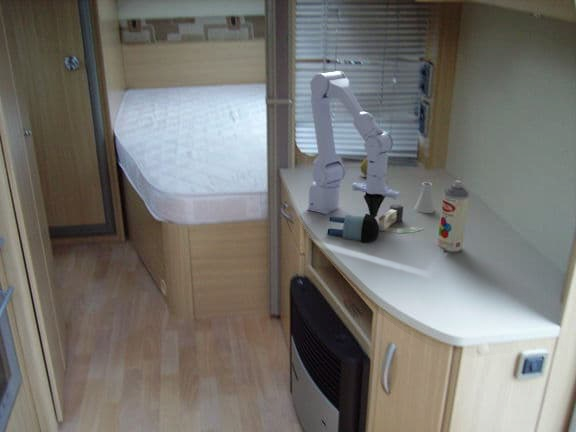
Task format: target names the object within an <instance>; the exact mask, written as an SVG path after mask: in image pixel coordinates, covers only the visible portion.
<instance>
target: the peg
mask: <svg viewBox="0 0 576 432" xmlns="http://www.w3.org/2000/svg"><path fill="white" fill-rule="evenodd" d="M403 215H404V206H403V205H402V204H391V205H390V206H389V210H388V211H386V212H385V213H384V214H382V215H381V216H379V217H378V220H377V222H378V225H379V231H382V232H383V231H384V232H385V230H386V228H390V226H392V225H393V224H395V223H402V222H403Z"/></svg>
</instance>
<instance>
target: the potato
mask: <svg viewBox="0 0 576 432" xmlns="http://www.w3.org/2000/svg"><path fill="white" fill-rule="evenodd" d="M367 164H368V159H367V157H365V159H363V161H362V162H361V165H360V172H361V173H362V174H363V175H364V176H365V177H367Z"/></svg>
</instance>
